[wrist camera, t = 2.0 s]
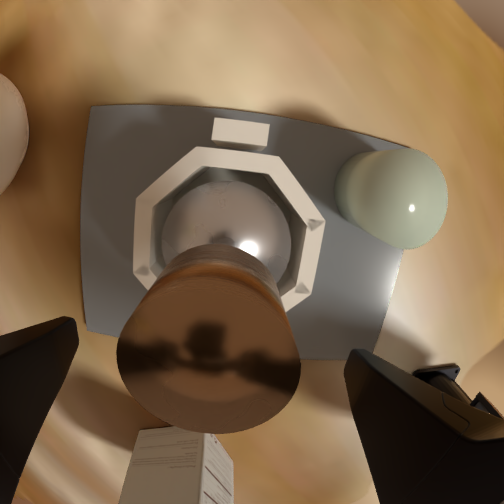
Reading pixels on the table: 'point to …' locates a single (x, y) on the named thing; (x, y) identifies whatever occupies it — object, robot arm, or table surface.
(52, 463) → the table surface
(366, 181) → the sage green dome
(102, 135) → the slate tray
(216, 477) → the supplement box
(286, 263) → the coffee tamper
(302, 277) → the octagonal white frame
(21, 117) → the lidded jar
